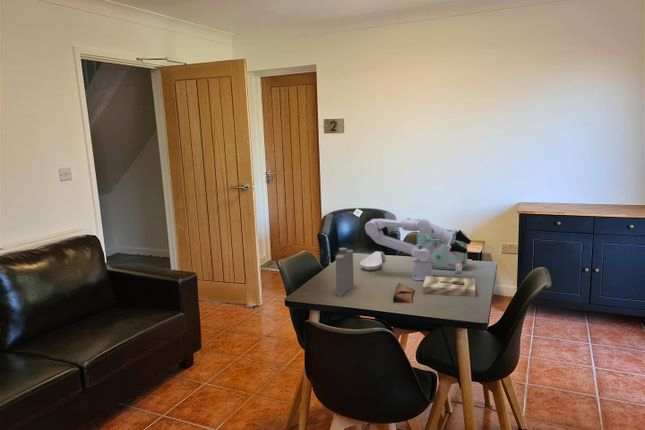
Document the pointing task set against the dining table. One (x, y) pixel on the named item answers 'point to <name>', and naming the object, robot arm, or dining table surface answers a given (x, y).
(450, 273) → the dining table surface
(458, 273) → the peg
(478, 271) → the dining table surface
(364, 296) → the dining table surface
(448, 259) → the lunch box
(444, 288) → the keyhole plate
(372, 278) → the dining table surface
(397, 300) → the sunglasses case
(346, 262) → the hip flask
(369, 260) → the spoon rest
